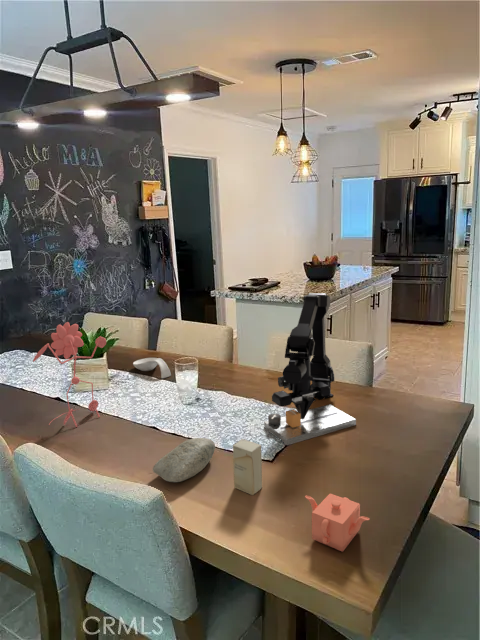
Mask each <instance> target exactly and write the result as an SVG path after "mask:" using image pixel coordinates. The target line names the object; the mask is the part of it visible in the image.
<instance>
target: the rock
mask: <svg viewBox="0 0 480 640" xmlns="http://www.w3.org/2000/svg"><path fill="white" fill-rule="evenodd" d="M215 449H216V444H215V443H214V441H213V440H211V439H210V438H205V437H197V438H195V437H194V438H189V439H187V440H184V441H183V442H181V443H179V444H178V445H177V446H176V447H174V448H173V449H172V450H171V451H169V452H167V454H165V455H164V456H162V457H161V458H160V459H158V461H157V462H155V463H154V465H153V466H152V471H153V473H154V474H156V475H158V476H159V477H161V478H162V480H164V481H166V482H170V483H181V482H183V481H186V480H188V479H190V478H193V477H195V476H196V475H197V474H199V473H200V472H201V471H202V470H203V469H205V467H206V466H207V465H208V464H209V462H210V461H211V460H212V458H213V456H214V454H215V453H214V452H215Z"/></svg>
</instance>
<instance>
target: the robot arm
mask: <svg viewBox="0 0 480 640" xmlns="http://www.w3.org/2000/svg"><path fill="white" fill-rule="evenodd" d="M330 307H331V297H330V296H329V295H328V294H327V293H324V292H323V293H322V292H319V293H318V292H309V293H308V294H306V295H303V303H302V308H301V312H300V316H299V318H298V319H299V320H298V322H297V326H295V327H294V328H292V329H291V331H290V334H289V336H288V337H287V338H286V339H287V340H286V346H285V352H284V358H285V359H289V361H288V364H286V366H285V367H284V369H283V371H282V375H281V376H279V377H277V385H278V386H279V388H282V387H283V389H284V390H285V389H288V391H290V392H289V393H288V392H286V391H284V390H280V391H276V392H273V393H272V395H271V401H272V403H275V404H276V405H278V406H279V407H287V406H291V404H292V403H293V405H294V406H295V409H296V411H297V412H299V413H300V414H301V419H304V418H305V416H306V414H307V412H308V410H310V408H311V407H312V405H313V403H314V402H315V401H316V400H319V401H320V400H324V399H327V398H332V397H334V394H333V393H332V392H331V389H332V387H331V383H332V382H335V372H334V370H333V366H332V365H331V359H330V358H329V357H328V355H327V353H326V329H325V328H326V326H325V325H326V323H325V322H326V321H325V319H326V318H325V316H327V315H326V314H327V313H328V311H329V309H330ZM290 351H291V352H290Z"/></svg>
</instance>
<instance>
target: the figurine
mask: <svg viewBox="0 0 480 640" xmlns="http://www.w3.org/2000/svg"><path fill="white" fill-rule="evenodd" d="M55 331H56V332H52V333H51V334H50V337H51V340H52V341H53V342H51V343H46V344H45V345H44V346H42V347H41V349H39V351H37V353H36V354H35V356H34V358H33V360H32V362H35V361H37V360H38V359H39V358H41V356H42V355H43V354H44V353H45V351H46V350H47V349H48V348H49V350H50V352H51V353H52V354H53V355H54V357H55V358H56V360H57V361H58V362H59V364H60V365H64V364H65V363H67V362H70V361H72V360H73V377H72V378H71V380H70V381H71V383H70V385H69V387H68V390H67V392H66V394H65V395H66V401H67V407H68V412H63V413H62V414H61V415H58V416H57V417H55V418H54V419H51V420H50V422H49V424H51V423H52V422H54V420H56V419H57V418H59V417H61V416H62V415H64V414H66V415H65V418H64V419H63V425H64V426H65V425H66V423H67V421H68V420H69V419H70V417H71V419H72V421H73V424H74V425H75V428H77V427H78V425H77V422H76V420H75V416H74V414H73V411H79V410H80V408H78V409H74V408H71V409H70V403H69V396H68V393H69V392H70V390H71V387H72V385H78V384H79V383H80V382H82V383H87V384H91V398H92V399H91V401H90V402H89V403H88V405H87V406H88V408H87V409H88V410H89V411H90V412H95V414H97V416H98V417H97V418H100V417H101V416H100V414H99V411H98V409H97V408H98V407H99V401H98V400H96V399H94V384H93V382H91V381H85V380H81V379H80V378H79V377H78V376H76V365H77V364H76V362H77V359H93V357H94V355H95V353H96V350H97V348H101V349H102V348H104V347H105V346H106V345H107V339H106V338H105V337H103V336H101V335H100V336H98V337H97V338H96V339H95V340H94V341H95V343H94V344H95V347H94V349H93V351H92V353H91V356H81V355H80V356H78V348H81V347H83V346H84V344H85V343H84V341H83V339H82V338H81V337H82V336H83V333H82V332H81V331H79V324H77V323H74V324H72V325H70V322H69V321H67V322H65V323H64V324H63V325H62V324H58V325H57V326H56V330H55ZM54 350H55V351H54ZM59 356H63V357H64V359H65V360H64V361H61V359H60V358H59ZM72 356H73V357H72ZM70 357H71V358H70ZM73 409H74V410H73ZM112 411H113V412H115V410H114V409H112Z"/></svg>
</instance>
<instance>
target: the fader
mask: <svg viewBox="0 0 480 640" xmlns="http://www.w3.org/2000/svg"><path fill="white" fill-rule="evenodd" d="M285 416H286V423H287V424H288V425H290V426H291V427H292V428H294V427H297V426H301V414H300V413H299V412H298V411H297V409H296V410H295V409H289V410H286V411H285Z"/></svg>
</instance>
